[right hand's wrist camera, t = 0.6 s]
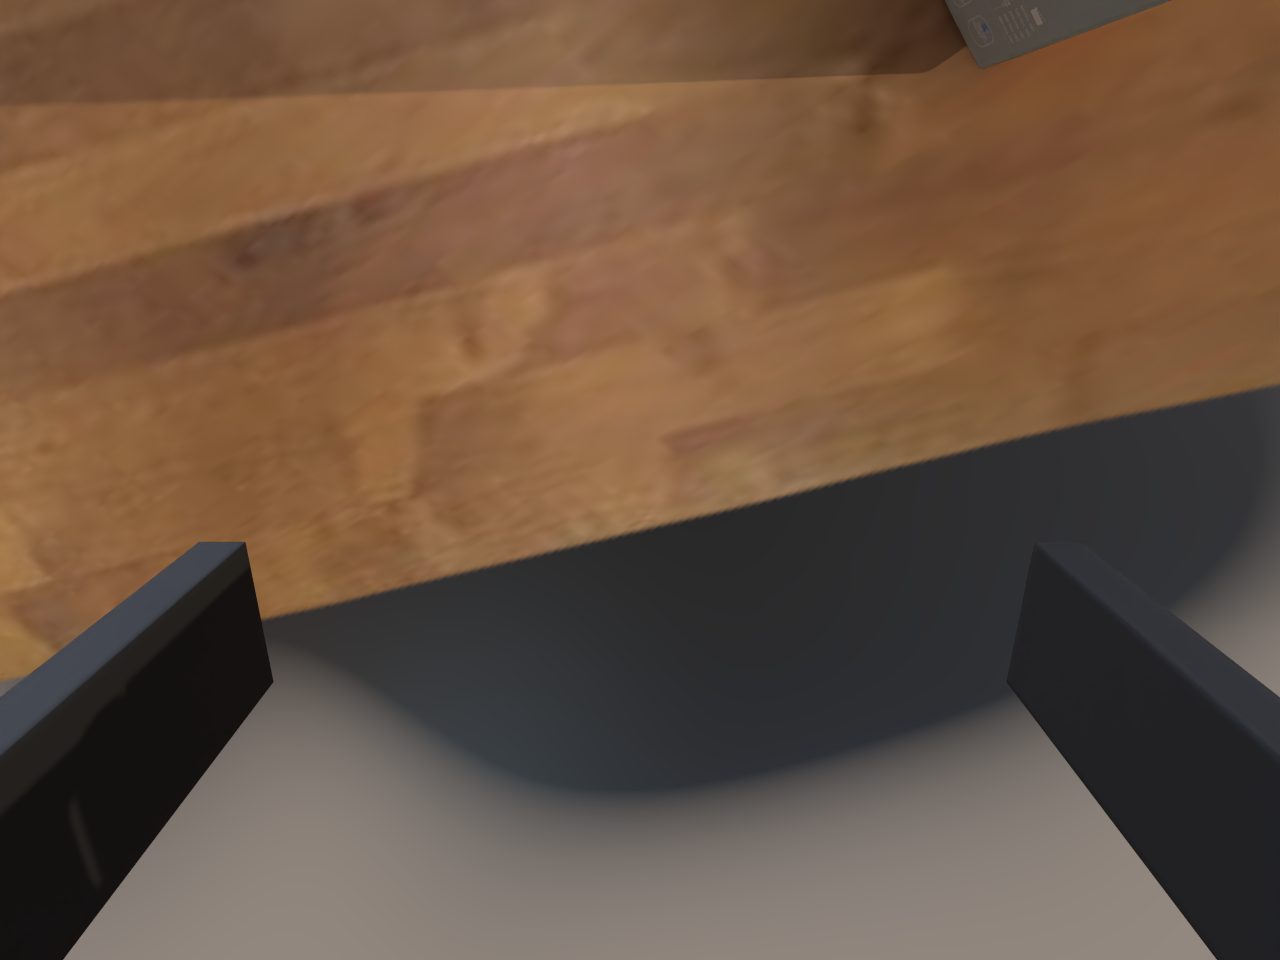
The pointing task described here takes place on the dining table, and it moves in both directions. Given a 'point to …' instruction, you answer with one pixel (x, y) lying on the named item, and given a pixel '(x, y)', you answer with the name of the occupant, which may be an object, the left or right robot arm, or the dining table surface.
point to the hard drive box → (1032, 23)
